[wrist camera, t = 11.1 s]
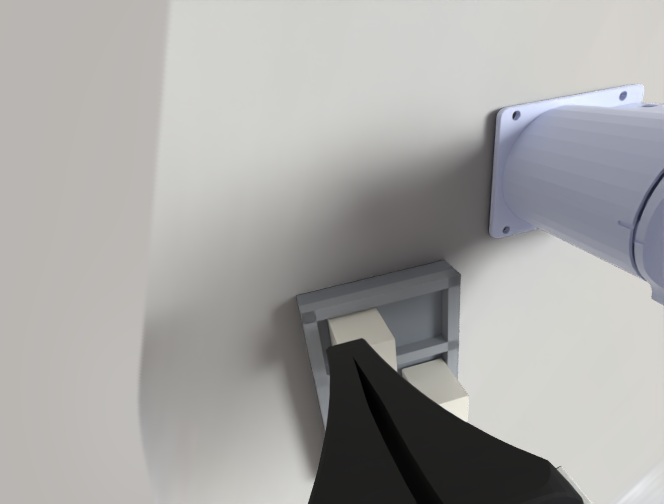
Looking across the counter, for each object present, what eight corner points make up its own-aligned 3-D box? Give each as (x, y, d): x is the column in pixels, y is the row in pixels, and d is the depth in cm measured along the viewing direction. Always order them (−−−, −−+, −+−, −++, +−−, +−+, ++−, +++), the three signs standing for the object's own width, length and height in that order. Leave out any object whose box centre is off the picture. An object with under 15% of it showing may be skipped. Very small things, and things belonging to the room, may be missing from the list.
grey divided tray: (444, 260, 24) (460, 274, 23) (443, 431, 32) (455, 452, 30) (296, 295, 23) (301, 313, 21) (332, 466, 30) (338, 490, 29)
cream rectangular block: (441, 358, 26) (468, 395, 23) (441, 388, 27) (467, 427, 24) (401, 369, 26) (424, 408, 23) (403, 399, 27) (425, 440, 24)
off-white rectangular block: (373, 303, 23) (395, 339, 20) (377, 341, 24) (397, 379, 21) (326, 315, 22) (340, 353, 19) (333, 353, 24) (347, 394, 21)
